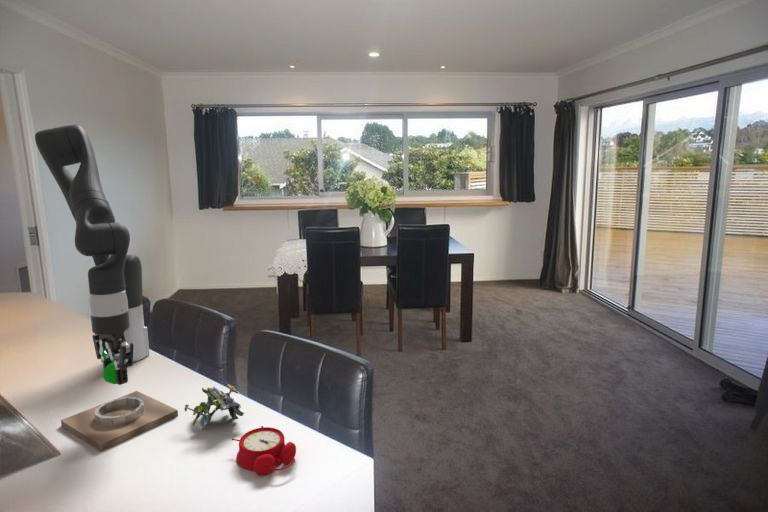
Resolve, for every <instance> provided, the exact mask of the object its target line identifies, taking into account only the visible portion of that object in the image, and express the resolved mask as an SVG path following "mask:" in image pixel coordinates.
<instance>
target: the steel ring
mask: <svg viewBox="0 0 768 512" xmlns="http://www.w3.org/2000/svg"><path fill="white" fill-rule="evenodd" d="M117 398H118V399H117ZM117 398H114V399H111V400H108V401H107V402H104V403H102V405H101V404H99V405H100V406H99V405H98V406H99V407H98V408H96V409H95V414H94V415H95V423H97V424H99V425H101V426H117V425H122V424H127V423H129V422H131V421H134V420H136V419H138V418H139V417H140V416H141V415H142V414H144V400H142V399H140V398H138V397H124V398H119V397H117ZM124 406H136V407H137V408H136V409H135V410H134V411H131V412H129V413H126V414H123V415H118V416H103V414H104V413H106V412H107V411H110V410H112V409H115V408H119V407H124Z"/></svg>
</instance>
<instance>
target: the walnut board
mask: <svg viewBox="0 0 768 512" xmlns="http://www.w3.org/2000/svg"><path fill="white" fill-rule="evenodd" d="M124 397H138V398H140V399H142V400H144V414H142V415H141V416H140V417H139V418H138V419H136V420H134V421H131V422H129V423H127V424H122V425H117V426H101V425H99V424H97V423H95V415H94V414H95V409H96V408H98V407H99V406H100V405H102V404H103V403H102V404H99V405H96V406H94V407H91V408H88V409H86V410H84V411H80V412H78V413H76V414H73V415H70V416H68V417H65V418H63V419H60V424H61V427H62V428H64V429H66V430H67V431H69V433H72V434H73V435H75V436H76V437H78V438H80V439H81V440H83V441H84V442H86V443H88V444H89V445H90V446H92V447H93V448H95V449H96V450H98V451H99V452H103V451H105V450H106V449H109V448H111V447H114V446H116V445H117V444H120V443H121V442H124V441H126V440H129V439H131V438H133V437H134V436H137V435H140V434H141V433H144V432H146V431H147V430H150V429H152V428H154V427H157V426H159V425H160V424H163V423H165V422H168V421H170V420H172V419H174V418H176V417H178V416H179V412H178V411H179V410H178V409H176V408H174V407H173V406H170V405H168V404H166V403H164V402H161V401H160V400H157V399H155V398H153V397H150V396H149V395H146V394H144V393H142V392H140V391H139V390H135V391H132V392H130V393H128V394H125V395H122V396H120V397H117V398H116V399H118V398H124ZM136 408H137V407H136V406H124V407H119V408H115V409H112V410H110V411H107V412H106V413H104V414H103V416H118V415H123V414H126V413H129V412H131V411H134V410H135V409H136Z"/></svg>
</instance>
